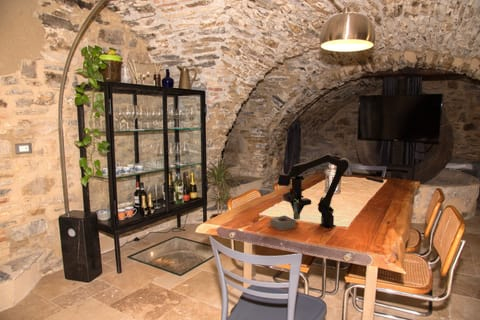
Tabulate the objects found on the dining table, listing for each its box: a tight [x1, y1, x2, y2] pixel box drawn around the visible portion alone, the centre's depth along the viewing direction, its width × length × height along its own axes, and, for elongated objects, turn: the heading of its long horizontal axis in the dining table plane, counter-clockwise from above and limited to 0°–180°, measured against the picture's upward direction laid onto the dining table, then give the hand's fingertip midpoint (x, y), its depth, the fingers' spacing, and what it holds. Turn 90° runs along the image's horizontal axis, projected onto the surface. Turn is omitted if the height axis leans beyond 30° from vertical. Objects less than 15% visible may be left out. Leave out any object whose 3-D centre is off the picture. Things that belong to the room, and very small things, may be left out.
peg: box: [293, 201, 301, 221], centre depth 183 cm, size 4×4×10 cm
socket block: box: [269, 215, 297, 232], centre depth 178 cm, size 10×10×4 cm
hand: (296, 213), depth 183 cm, fingers closed on peg, 4 cm apart
